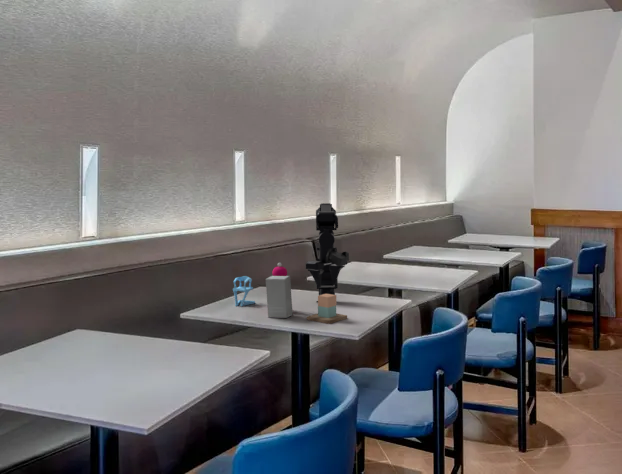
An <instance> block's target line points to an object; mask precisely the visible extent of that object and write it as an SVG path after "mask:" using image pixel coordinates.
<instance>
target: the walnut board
mask: <svg viewBox="0 0 622 474" xmlns="http://www.w3.org/2000/svg"><path fill="white" fill-rule="evenodd" d="M346 319H348V315H347V314H341V313H337V312H336V316H334V317H330V318H325V317H320V316H318V313H315V314H311V315H307V316H306V320H308V321H313V322H318V323H323V324H327V325H329V324H333V323H337V322H340V321H343V320H346Z"/></svg>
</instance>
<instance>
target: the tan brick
mask: <svg viewBox="0 0 622 474" xmlns="http://www.w3.org/2000/svg"><path fill="white" fill-rule="evenodd" d="M317 301H318V302H317V307H318V306H321V307H327V308H329V307H333V306H336V307H337V302H336V301H337V294H335V295H332V294H323V295H319V294H318V295H317Z"/></svg>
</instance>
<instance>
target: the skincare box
mask: <svg viewBox="0 0 622 474" xmlns="http://www.w3.org/2000/svg"><path fill="white" fill-rule="evenodd" d="M265 289H266V303H267V304H266V305H267V317H268V318H276V319H278V318H279V319H280V318H281V319H288V318H289V317H290V316H292V315H293V301H292V285H291V276H290V275H287V276H273V275H270V276H269V277H267V278H265Z"/></svg>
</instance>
